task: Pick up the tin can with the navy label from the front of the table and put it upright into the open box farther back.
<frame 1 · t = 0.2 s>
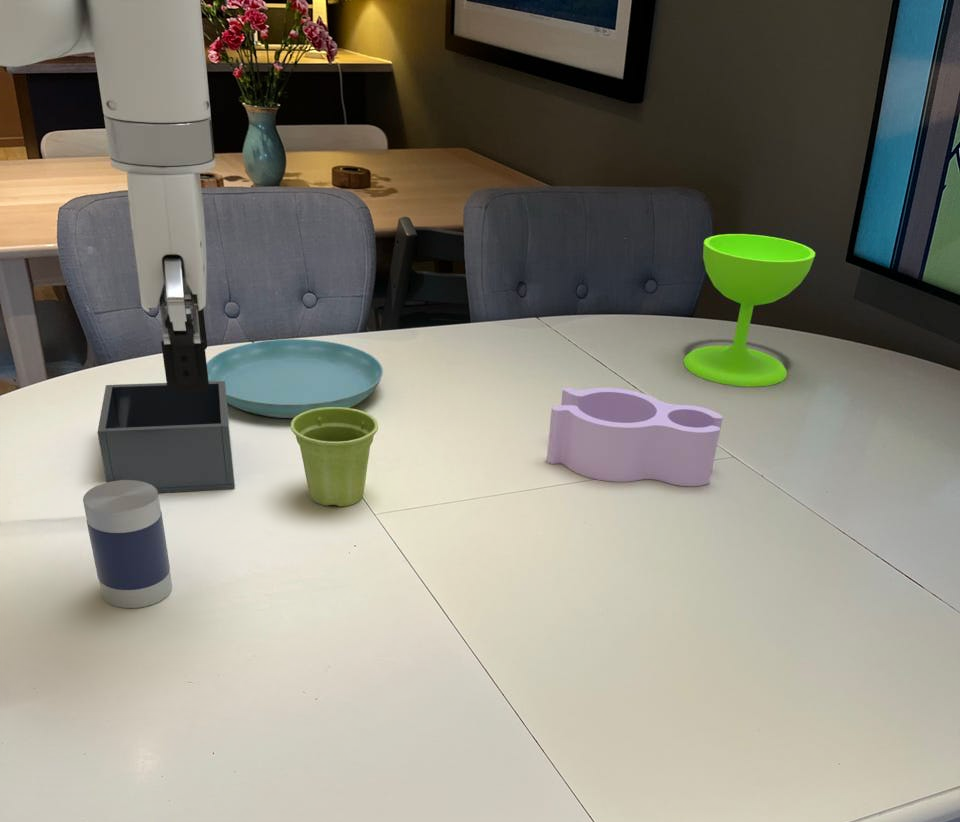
hand: (188, 369, 83), 22 cm above the table, tool pointing down, fingers open, 9 cm apart
tin can: (137, 590, 94), on the table
plant pot: (337, 497, 112), on the table
open box: (173, 466, 116), on the table
clip: (630, 464, 123), on the table
teal plate: (295, 392, 137), on the table
wineglass: (734, 369, 154), on the table
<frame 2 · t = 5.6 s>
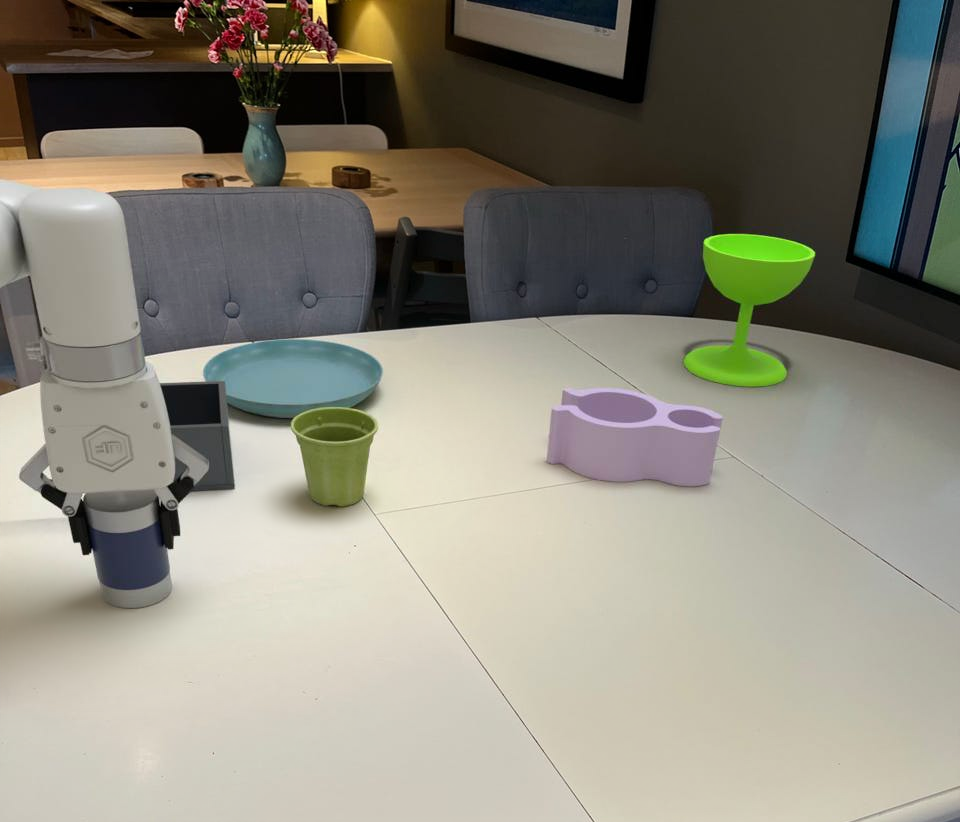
hand: (129, 543, 91), 5 cm above the table, tool pointing down, fingers closed on tin can, 6 cm apart
tin can: (137, 590, 94), on the table, touching gripper
everything else where it was.
when the fingers open (6 cm above the table, at t = 13.3 s): tin can stays where it is, resting on open box.
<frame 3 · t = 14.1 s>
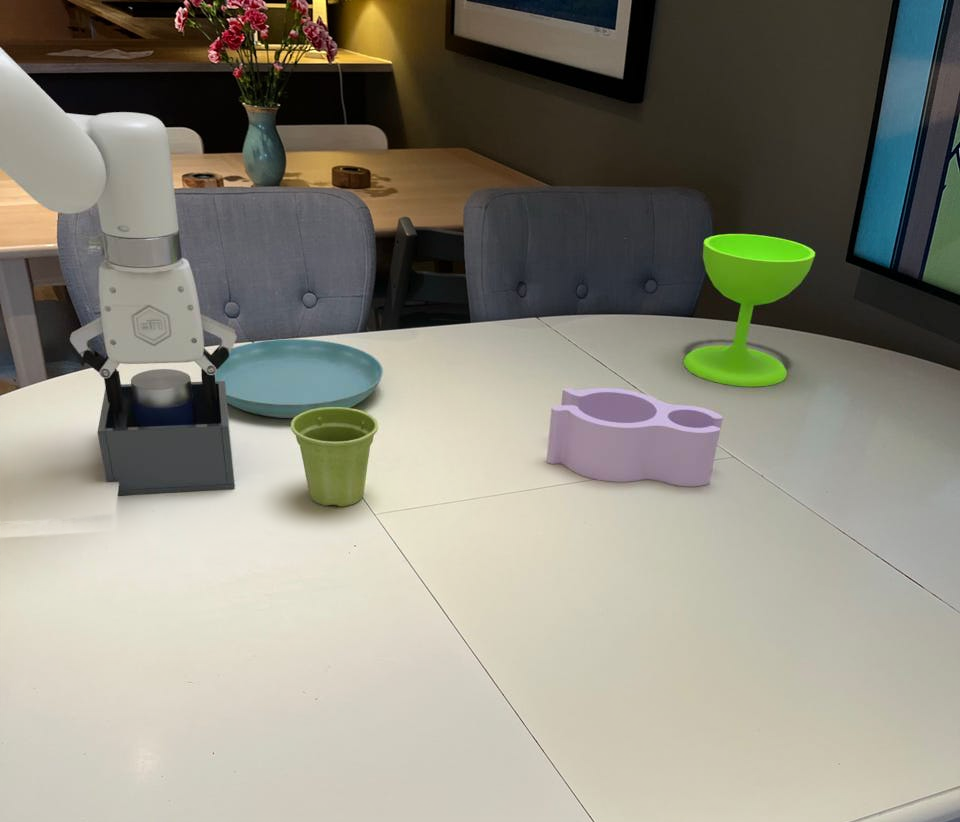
hand: (164, 406, 112), 7 cm above the table, tool pointing down, fingers open, 9 cm apart
tin can: (172, 461, 116), point 1 cm above the table, touching open box
everything else where it was.
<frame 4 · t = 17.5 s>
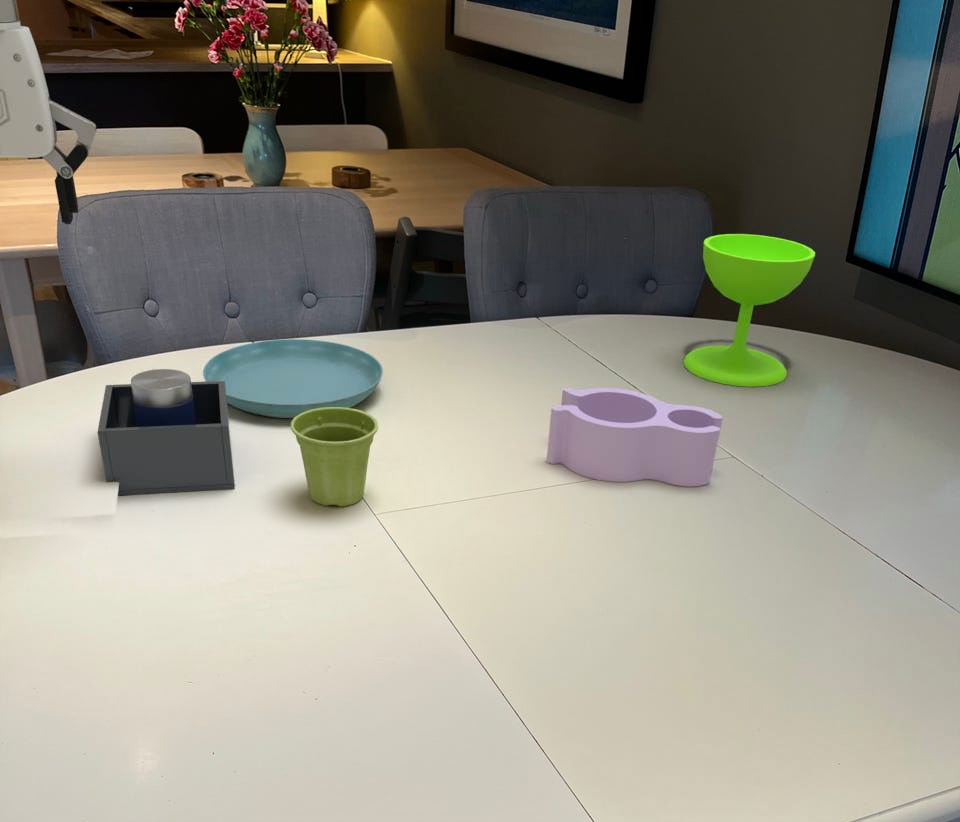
hand: (14, 221, 93), 28 cm above the table, tool pointing down, fingers open, 9 cm apart
nothing on the table moved.
at the end: tin can inside the target area in the open box (0.1 cm from its centre), point 0.6 cm above the open box's base; tin can tilted 0°; the gripper is holding nothing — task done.
